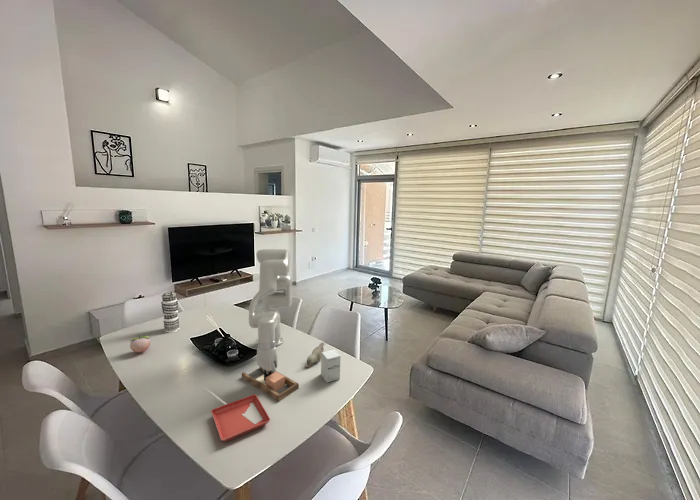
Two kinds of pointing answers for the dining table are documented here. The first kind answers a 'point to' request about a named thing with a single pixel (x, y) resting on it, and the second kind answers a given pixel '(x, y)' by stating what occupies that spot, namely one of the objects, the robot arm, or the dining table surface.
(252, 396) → the red shallow tray
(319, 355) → the decorative bird
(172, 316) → the model tower building
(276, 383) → the terracotta block
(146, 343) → the decorative fruit
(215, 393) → the dining table surface
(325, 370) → the supplement box
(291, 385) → the wooden tray
